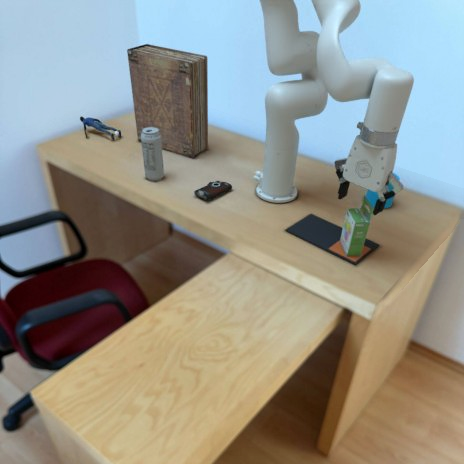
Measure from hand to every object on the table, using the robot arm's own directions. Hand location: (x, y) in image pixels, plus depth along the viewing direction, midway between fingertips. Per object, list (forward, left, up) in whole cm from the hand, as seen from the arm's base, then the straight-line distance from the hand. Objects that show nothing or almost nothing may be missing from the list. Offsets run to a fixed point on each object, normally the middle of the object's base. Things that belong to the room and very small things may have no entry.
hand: (359, 205), depth 106 cm
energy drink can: (-66, -10, -13) cm, 68 cm away
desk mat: (-6, +1, -13) cm, 14 cm away
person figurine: (-107, -2, -13) cm, 108 cm away
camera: (-46, -4, -13) cm, 48 cm away
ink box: (+1, 0, -13) cm, 13 cm away
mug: (-8, +30, -13) cm, 34 cm away
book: (-81, +11, -13) cm, 83 cm away
